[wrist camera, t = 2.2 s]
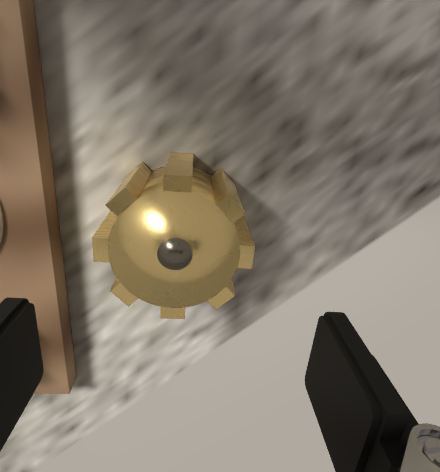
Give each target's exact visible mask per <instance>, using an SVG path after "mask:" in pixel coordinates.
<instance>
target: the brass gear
mask: <svg viewBox="0 0 440 472" xmlns="http://www.w3.org/2000/svg"><path fill="white" fill-rule="evenodd" d="M106 206H107V207H108V208H109V209H110V210H111V211H110V212H109V214H108V215H107V217H106V218H105V220H104V221H103V222H102V224H101V225H100V227H99V228H98V230H97V231H96V233H95V234H94V236H93V237H92V244H93V258H94V262H110V264H111V267H112V269H113V272H114V274H115V275H116V278H115V280H114V282H113V285H112V287H111V290H110V292H112V293H113V294H114V295H115V296H116V297H118V298H119V299H120V300H121V301H122V302H124V303H125V304H126V305H127V306H130V305H131V304H132V303H133V302H135V301H136V300H137V299H141V300H143V301H145V302H148V303H150V304H153V305H157V306H161V318H170V319H185V307H190V306H194V305H197V304H200V303H203V302H205V301H208V302H209V303H210V304H211V305H212V306H213V307H214V308H215V309H218V308H219V307H220V306H222V305H223V304H224V303H226V302H227V301H229V300H230V299H231V298H233V297H234V296H235V293H234V287H233V282H232V278H233V276H234V274H235V272H236V269H237V268H246V269H252V265H253V258H254V251H255V244H254V242H253V239H252V236H251V233H250V231H249V228H248V225H247V222H246V220H245V217H244V214H245V212H244V209H243V206H242V204H241V201H240V198H239V196H238V193H237V190H236V188H235V185H234V183H233V182H232V181H231V180H230V178H229V177H228V176H227V175H226V174H225V172H224V171H223V170H222V169H221V168H219V169H218V170H217V171H216V172H215V173H214V174H212V175H211V176H210V175H209V174H207V173H206V172H204V171H202V170H200V169H197V168H195V167H193V154H187V153H173V152H171V155H170V158H169V160H168V163H167V166H165V167H161V168H159V169H156V170H154V171H151V170H150V169H149V168H148V167H147V166H146V165H145V164H144V163H143V162H142V163H141V164H140V165H139V166H138V167H137V168H136V169H135V170H133V171H132V172H131V173H130V174H129V175H128V176H127V177H126V179H125V180H124V181H123V182H122V184H121V185H120V186H119V188H118V189H117V190H116V192H115V193H114V194H113V196H112V197H111V198H110V200H109V201H108V202H107V203H106Z"/></svg>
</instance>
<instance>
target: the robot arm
mask: <svg viewBox="0 0 440 472" xmlns="http://www.w3.org/2000/svg"><path fill="white" fill-rule="evenodd" d="M43 370H44V369H43V361H42V354H41V347H40V340H39V333H38V326H37V320H36V313H35V307H34V304H33V303H29V300H28V299H26V298H10V297H8V298H5V299H4V300H3V301H2V302H1V303H0V451H1V449H2V448H3V446H4V444H5V442H6V441H7V439H8V437H9V435H10V434H11V432H12V430H13V428H14V427H15V425H16V423H17V421H18V420H19V418H20V416H21V414H22V413H23V411H24V409H25V407H26V406H27V404H28V402H29V400H30V399H31V397H32V395H33V393H34V392H35V390H36V388H37V386H38V385H39V383H40V381H41V379H42V376H43ZM305 386H306V389H307V392H308V395H309V398H310V401H311V403H312V406H313V409H314V412H315V415H316V417H317V420H318V423H319V426H320V429H321V432H322V434H323V437H324V440H325V443H326V446H327V449H328V451H329V454H330V457H331V460H332V462H333V465H334V468H335V471H336V472H440V427H438V426H436V425H431V424H418V423H417V421H416V419H415V418H414V416H413V415H412V413H411V412H410V410H409V409H408V407H407V406H406V404H405V403H404V401H403V400H402V398H401V397H400V395H399V394H398V392H397V391H396V389H395V388H394V386H393V384H392V383H391V381H390V380H389V378H388V377H387V375H386V374H385V373H384V371H383V369H382V368H381V366H380V365H379V363H378V362H377V360H376V359H375V358H374V356H373V355H371V353H370V352H369V350H368V349H367V347H366V345H365V344H364V343H363V341H362V339H361V338H360V336H359V335H358V333H357V332H356V330H355V329H354V327H353V326H352V324H351V323H350V321H349V319H348V318H347V316H346V315H345V314H344V313H341V312H326V313H325V314H324V316H320V317H319V320H318V324H317V328H316V332H315V337H314V341H313V345H312V349H311V354H310V358H309V362H308V366H307V371H306V375H305Z"/></svg>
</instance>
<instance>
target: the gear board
mask: <svg viewBox="0 0 440 472" xmlns="http://www.w3.org/2000/svg"><path fill="white" fill-rule="evenodd" d="M8 297H10V298H26V299H28V300H29V303H33V304H34V307H35V313H36V320H37V326H38V333H39V340H40V347H41V354H42V361H43V369H44V370H43V376H42V379H41V381H40V383H39V385H38V386H37V388H36V390H35V392H34V393H40V394H70V391H71V389H72V386H73V384H74V381H75V379H76V368H75V359H74V350H73V342H72V333H71V324H70V315H69V307H68V298H67V289H66V280H65V272H64V263H63V254H62V245H61V237H60V228H59V219H58V210H57V202H56V193H55V184H54V175H53V167H52V158H51V149H50V140H49V132H48V123H47V114H46V105H45V97H44V88H43V79H42V70H41V62H40V53H39V44H38V35H37V27H36V18H35V9H34V0H0V303H1V302H2V301H3V300H4V299H5V298H8Z"/></svg>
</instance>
